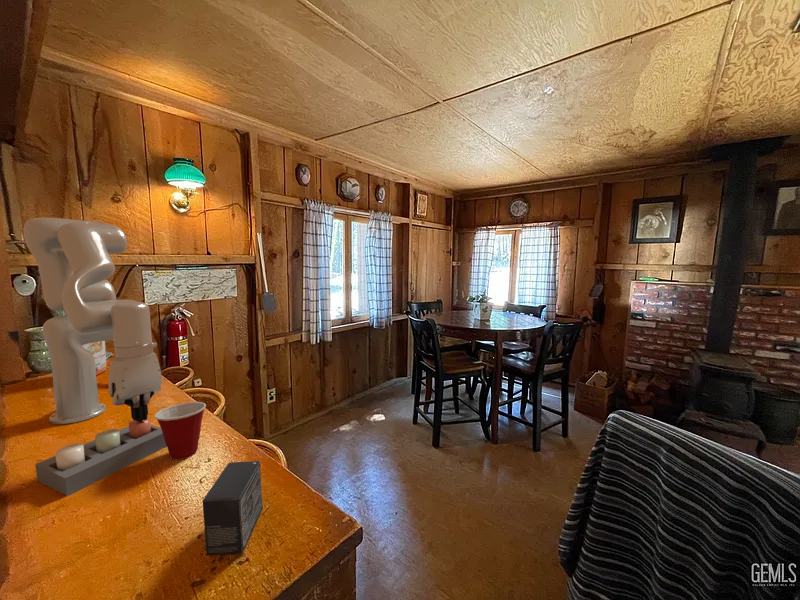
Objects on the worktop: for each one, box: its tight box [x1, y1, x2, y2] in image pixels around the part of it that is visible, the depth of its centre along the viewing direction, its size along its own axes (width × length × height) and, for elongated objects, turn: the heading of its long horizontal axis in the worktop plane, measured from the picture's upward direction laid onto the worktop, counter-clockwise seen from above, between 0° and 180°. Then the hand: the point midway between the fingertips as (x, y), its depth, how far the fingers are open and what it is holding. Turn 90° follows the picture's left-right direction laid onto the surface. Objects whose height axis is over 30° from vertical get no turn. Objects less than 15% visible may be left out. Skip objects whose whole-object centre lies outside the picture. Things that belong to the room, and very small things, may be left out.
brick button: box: [128, 416, 152, 439], centre depth 86 cm, size 4×4×5 cm
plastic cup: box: [154, 401, 207, 461], centre depth 83 cm, size 11×11×12 cm
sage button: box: [94, 428, 121, 454], centre depth 80 cm, size 4×4×5 cm
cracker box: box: [82, 341, 108, 376], centre depth 134 cm, size 14×6×21 cm, turn 12°
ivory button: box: [54, 443, 85, 472], centre depth 73 cm, size 4×4×5 cm
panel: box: [35, 424, 167, 497], centre depth 80 cm, size 12×21×4 cm, turn 158°
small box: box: [201, 460, 264, 557], centre depth 60 cm, size 11×6×10 cm, turn 5°
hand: (140, 419), depth 86 cm, fingers closed
